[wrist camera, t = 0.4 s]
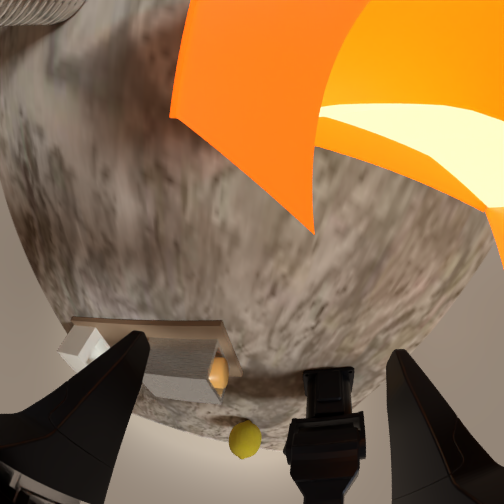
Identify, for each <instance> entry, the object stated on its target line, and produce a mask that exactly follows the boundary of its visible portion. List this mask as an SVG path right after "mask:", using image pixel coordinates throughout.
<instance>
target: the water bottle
mask: <svg viewBox="0 0 504 504" xmlns="http://www.w3.org/2000/svg"><path fill="white" fill-rule="evenodd" d="M84 1H85V0H0V27H2V26H4V27H5V26H18V25H19V26H23V25H54V24H58V23H61V22H63V21H65V20H67V19H68V18H70V17H71V16H72V15H73V14H74V13H75V12H76V11H77V10H78V9H79V8H80V7H81V6H82V4H83V3H84Z"/></svg>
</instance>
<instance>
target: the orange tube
mask: <svg viewBox="0 0 504 504" xmlns="http://www.w3.org/2000/svg"><path fill="white" fill-rule="evenodd" d="M228 378H229V367H228V362H227V360H226V359H225V358H222V357H215V358H214V362H213V366H212V369H211V373H210V376H209V380H210V381H211V383H212V385H213V386H214V388H220V389H224V388H225V387H226V386H227V383H228Z"/></svg>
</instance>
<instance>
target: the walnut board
mask: <svg viewBox="0 0 504 504" xmlns="http://www.w3.org/2000/svg"><path fill="white" fill-rule="evenodd" d="M71 321H72V323H73V324H74V325H78V326H88V327H96V328H97V330H98V331H99V333H100V334H101V335H102V337H103V338H104V340H105V341H106V342H107V344H108V345H109V346H110V348H111V347H112V346H113V345H115V344H116V343H117V342H118V341H120V340H121V339H122V338H124V337H125V336H126V335H128V334H129V333H130V332H132V331H133V330H138V331H143V332H144V333H145V335H146V337H147V340H149V338H150V337H154V338H175V339H217V340H218V342H219V344H220V346H221V348H222V351H223V353H224V355H225V357H226V359H227V361H228V364H229V366H230V371H229V377H242V375H243V371H242V368H241V366H240V363H239V361H238V359H237V356H236V354H235V351H234V349H233V347H232V344H231V342H230V339H229V337H228V334H227V332H226V329H225V327H224V324H223V322H222V321H151V320H121V319H101V318H86V317H73V318H72V319H71Z"/></svg>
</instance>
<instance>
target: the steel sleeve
mask: <svg viewBox="0 0 504 504" xmlns="http://www.w3.org/2000/svg"><path fill="white" fill-rule="evenodd" d="M148 342H149V344H150V353H149V357H148V361H147V365H146V369H145V373H144V377H143V381H142V382H143V383H144V385H145V386H146V387H147V388H148V389H149V390H150V391H151V392H152V394H153V395H154V396H156V397H162V398H168V399H175V400H183V401H191V402H200V403H210V404H222V401H223V397H224V393H225V388H226V387H225V388H224V389H220V388H214V386H213V385H212V383H211V381H210V380H209V376H210V373H211V369H212V366H213V362H214V358H215V357H222V358H225V359H226V357H225V355H224V353H223V351H222V348H221V346H220V344H219V342H218V340H217V339H175V338H154V337H150V338H149V340H148ZM226 360H227V359H226ZM227 362H228V361H227ZM228 367H229V371H230V366H229V364H228Z"/></svg>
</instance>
